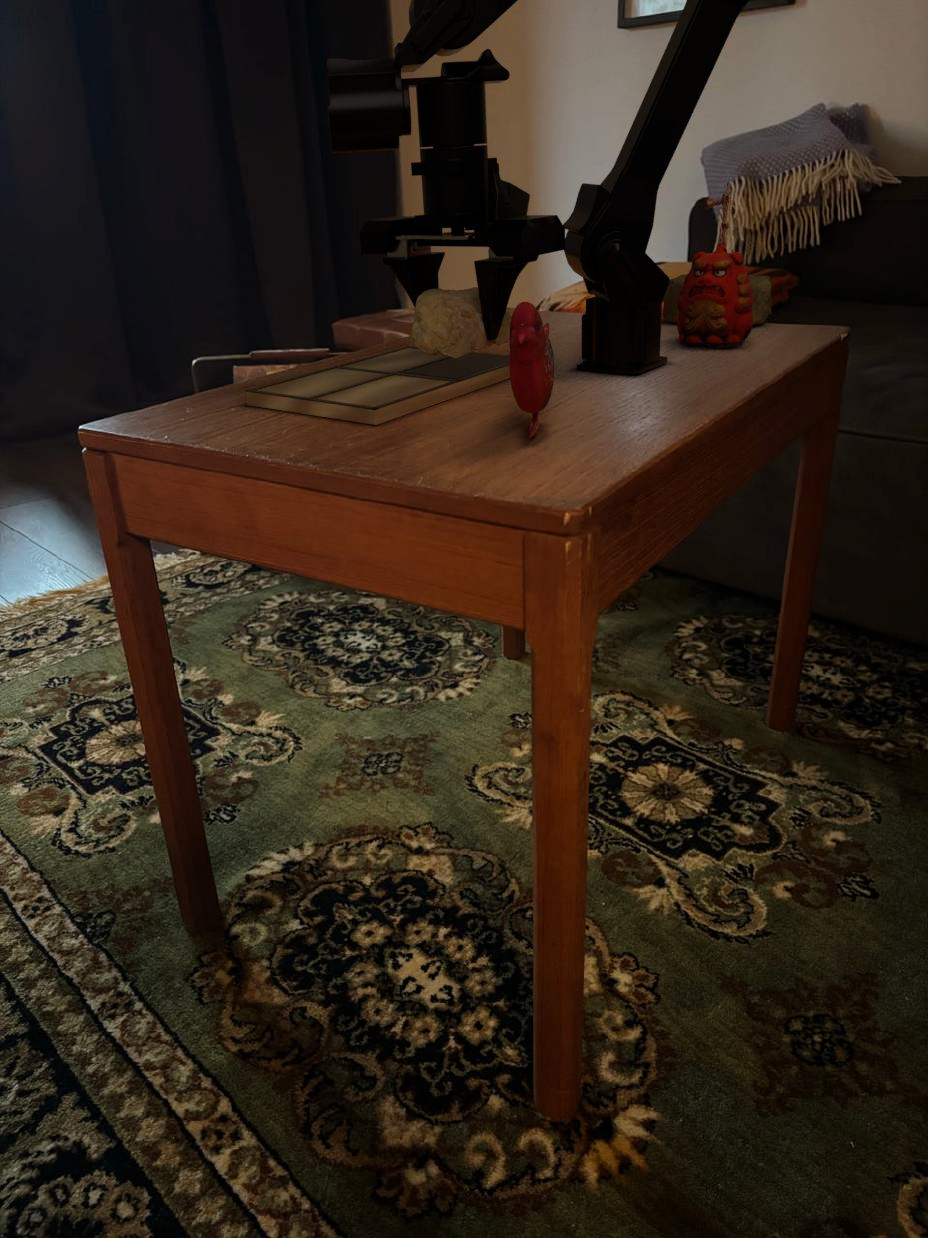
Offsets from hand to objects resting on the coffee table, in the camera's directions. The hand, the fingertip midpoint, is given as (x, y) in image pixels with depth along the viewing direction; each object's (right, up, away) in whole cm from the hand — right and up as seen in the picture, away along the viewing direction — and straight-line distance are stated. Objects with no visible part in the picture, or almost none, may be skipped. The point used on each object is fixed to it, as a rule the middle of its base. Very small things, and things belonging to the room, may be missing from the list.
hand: (463, 337), depth 88 cm
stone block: (+29, +8, +23) cm, 38 cm away
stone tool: (0, -1, +1) cm, 1 cm away
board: (-6, -5, 0) cm, 8 cm away
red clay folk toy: (+26, +2, +11) cm, 28 cm away
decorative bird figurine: (+6, -11, -15) cm, 19 cm away
